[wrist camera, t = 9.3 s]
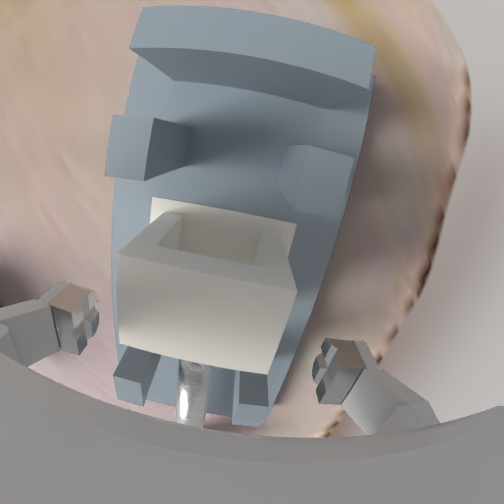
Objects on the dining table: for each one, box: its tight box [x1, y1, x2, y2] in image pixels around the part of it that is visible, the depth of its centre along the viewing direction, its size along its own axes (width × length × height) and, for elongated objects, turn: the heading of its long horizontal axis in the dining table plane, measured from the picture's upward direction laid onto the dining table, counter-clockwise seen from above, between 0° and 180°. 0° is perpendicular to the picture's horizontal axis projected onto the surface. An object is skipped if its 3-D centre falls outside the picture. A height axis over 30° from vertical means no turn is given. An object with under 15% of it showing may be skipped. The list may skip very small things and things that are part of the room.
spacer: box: [116, 212, 297, 374], centre depth 11 cm, size 4×6×5 cm, turn 77°
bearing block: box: [105, 6, 376, 427], centre depth 12 cm, size 23×11×6 cm, turn 168°
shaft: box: [176, 359, 214, 428], centre depth 15 cm, size 14×4×4 cm, turn 168°
